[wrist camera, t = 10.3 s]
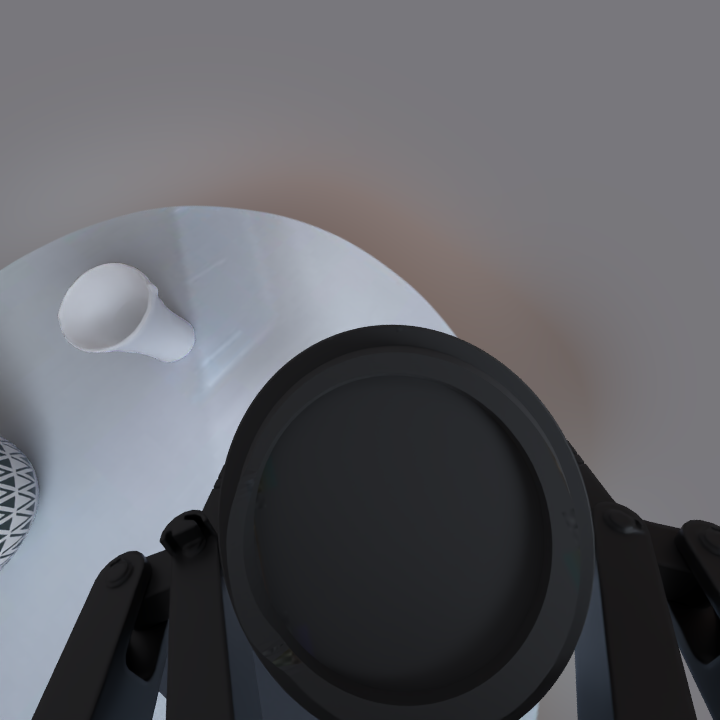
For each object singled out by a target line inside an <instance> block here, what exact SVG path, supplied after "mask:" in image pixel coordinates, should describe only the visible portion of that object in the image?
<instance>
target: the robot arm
mask: <svg viewBox="0 0 720 720" xmlns="http://www.w3.org/2000/svg"><path fill="white" fill-rule="evenodd" d="M567 442H568V444H569V446H570V448H571V450H572V452H573V454H574V457H575V459H576V461H577V464H578V466H579V469H580V472H581V475H582V478H583V481H584V484H585V488H586V491H587V495H588V499H589V504H590V508H591V514H592V520H593V528H594V540H595V570H594V582H593V589H592V595H591V601H590V606H589V610H588V614H587V617H586V621H585V624H584V627H583V630H582V633H581V636H580V638H579V641H578V643H577V645H576V648H575V668H576V691H577V713H578V720H697V718H696V714H695V710H694V706H693V702H692V698H691V694H690V690H689V686H688V682H687V678H686V674H685V670H684V666H683V662H682V659H681V654H680V650H681V653H682V655H683V657H684V659H685V661H686V663H687V666H688V668H689V669H690V672H691V674H692V675H693V678H694V680H695V682H696V684H697V687H698V689H699V691H700V693H701V695H702V697H703V699H704V701H705V703H706V705H707V708H708V710H709V712H710V714H711V716H712V718H713V720H720V526H717V525H715V524H713V523H710V522H706V521H701V520H690V521H688V522H687V523H685V524H684V525H683V526H682V527H681V529H680V528H675V527H670V526H666V525H662V524H657V523H653V522H649V521H645V520H642V519H641V518H640V517H639V516H638V515H637V514H636V513H635V512H633V511H632V510H630V509H628V508H627V507H625V506H623V505H620V504H618V503H616V502H615V501H614V500H613V499H612V498H611V496H610V495H609V494H608V492H607V491H606V490H605V488H604V487H603V486H602V485H601V483H600V482H599V481H598V479H597V478H596V477H595V475H594V474H593V473H592V471H591V470H590V469H589V468H588V466H587V465H586V464H584V461H583V460H582V458H581V457H580V456H579V455H577V452H576V451H575V449H574V448H573V447H572V445H571V444H570V443H569V441H567ZM224 466H225V465H224ZM224 466H223V468H222V470H221V472H220V474H219V477H218V479H217V481H216V483H215V485H214V489H212V491H211V494H210V496H209V498H208V500H207V502H206V504H205V506H204V508H203V511H200V510H191V511H187V512H184V513H182V514H180V515H179V516H177V517H175V518H174V519H173V520H172V521H171V522H170V523H169V524H168V525H167V526H166V528H165V529H164V531H163V532H162V535H161V538H160V543H161V544H162V545H163V546H164V548H165V549H166V550H164V551H161V552H158V553H156V554H153V555H150V556H148V557H145V556H144V555H143V554H142V553H140V552H138V551H129V552H126V553H124V554H122V555H119V556H118V557H116V558H115V559H113V560H112V561H111V562H109V563H108V564H107V565H106V566H105V568H104V569H103V570H102V571H101V572H100V574H99V575H98V577H97V578H96V580H95V582H94V584H93V586H92V589H91V591H90V593H89V595H88V597H87V600H86V602H85V604H84V606H83V608H82V610H81V613H80V615H79V617H78V619H77V621H76V624H75V626H74V628H73V630H72V632H71V634H70V637H69V639H68V641H67V643H66V645H65V648H64V650H63V652H62V654H61V656H60V659H59V661H58V663H57V665H56V667H55V669H54V672H53V674H52V676H51V678H50V680H49V683H48V685H47V687H46V689H45V691H44V693H43V696H42V698H41V700H40V702H39V704H38V707H37V709H36V711H35V713H34V715H33V717H32V720H152V718H153V714H154V709H155V705H156V701H157V696H158V692H159V688H160V684H161V679H162V675H163V671H164V667H165V662H166V658H167V654H168V671H167V701H166V720H263V718H262V711H261V705H260V698H259V692H258V685H257V678H256V672H255V665H254V659H253V652H252V647H251V645H250V643H249V642H248V640H247V638H246V636H245V634H244V632H243V630H242V628H241V626H240V624H239V621H238V619H237V617H236V614H235V612H234V609H233V606H232V603H231V601H230V597H229V594H228V591H227V587H226V584H225V580H224V575H223V571H222V565H221V559H220V552H219V543H218V502H219V492H220V485H221V479H222V474H223V470H224ZM679 649H680V650H679Z"/></svg>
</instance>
